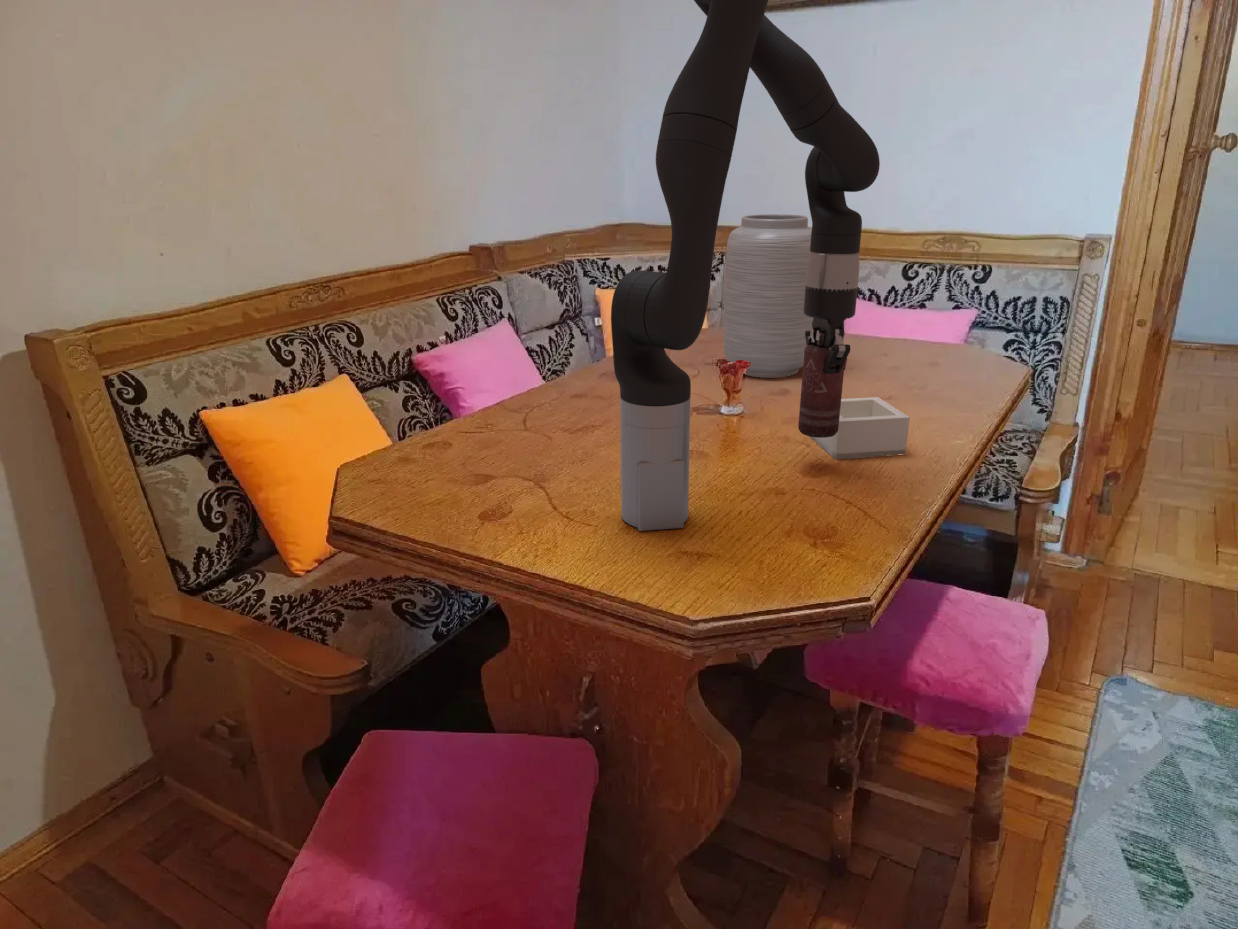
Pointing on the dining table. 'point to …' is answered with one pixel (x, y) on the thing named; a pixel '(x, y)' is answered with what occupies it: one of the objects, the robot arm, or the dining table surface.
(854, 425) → the well
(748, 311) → the vase
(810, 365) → the can
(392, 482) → the dining table surface
